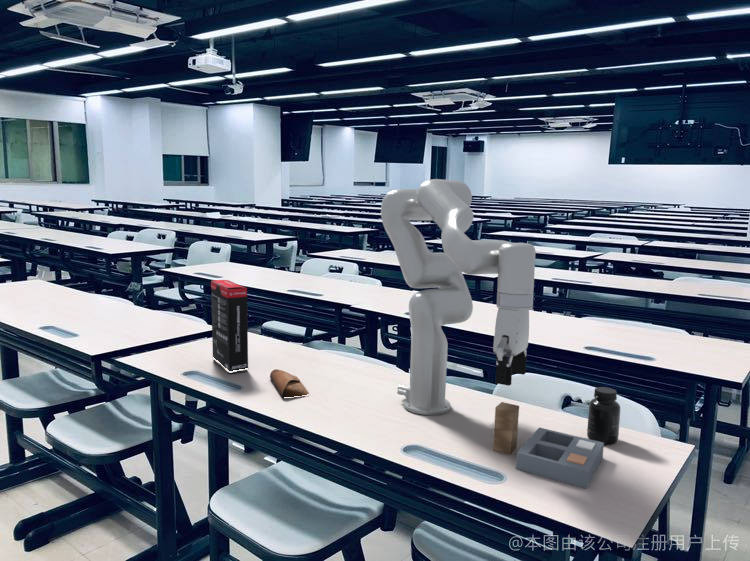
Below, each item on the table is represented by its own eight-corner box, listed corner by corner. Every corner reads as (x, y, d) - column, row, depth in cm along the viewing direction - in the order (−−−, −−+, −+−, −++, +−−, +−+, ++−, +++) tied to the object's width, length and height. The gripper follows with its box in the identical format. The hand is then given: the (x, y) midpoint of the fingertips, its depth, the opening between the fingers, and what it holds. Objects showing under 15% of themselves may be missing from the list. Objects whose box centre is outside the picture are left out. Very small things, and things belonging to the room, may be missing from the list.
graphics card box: (249, 372, 173) (249, 285, 169) (228, 375, 169) (227, 287, 166) (230, 358, 187) (230, 278, 183) (210, 361, 183) (209, 280, 179)
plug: (492, 450, 122) (495, 407, 121) (499, 444, 126) (501, 401, 124) (510, 455, 120) (513, 411, 119) (516, 448, 124) (519, 405, 122)
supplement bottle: (609, 433, 133) (614, 385, 132) (623, 445, 127) (628, 395, 125) (581, 433, 133) (585, 385, 132) (593, 445, 126) (598, 395, 125)
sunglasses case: (312, 396, 153) (300, 377, 151) (291, 411, 151) (278, 392, 149) (296, 377, 170) (286, 359, 167) (277, 390, 168) (266, 372, 166)
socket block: (515, 468, 114) (517, 451, 113) (538, 441, 127) (539, 426, 127) (587, 488, 107) (588, 470, 106) (602, 458, 120) (604, 441, 120)
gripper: (510, 294, 127) (507, 367, 129) (483, 304, 113) (479, 385, 115) (543, 297, 123) (539, 372, 126) (519, 308, 109) (515, 392, 111)
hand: (511, 378), depth 120 cm, fingers open, 9 cm apart
